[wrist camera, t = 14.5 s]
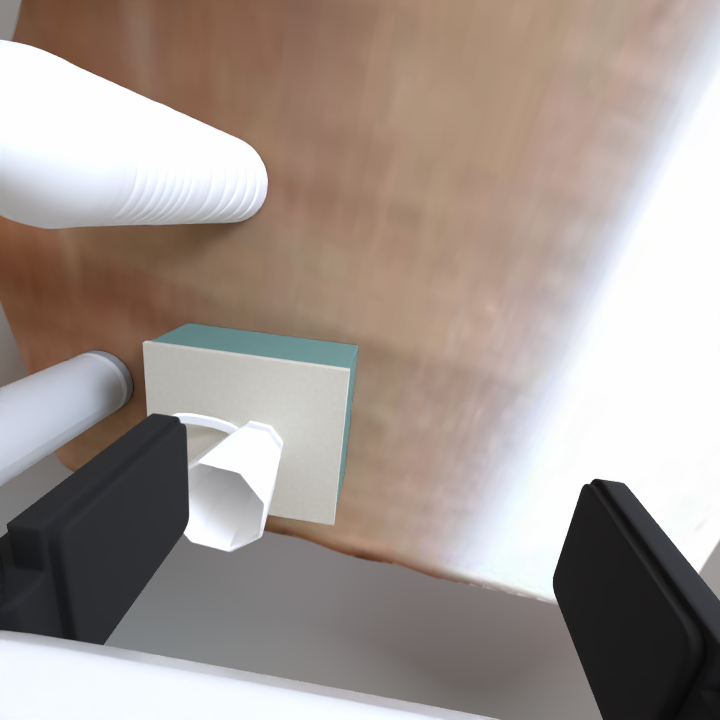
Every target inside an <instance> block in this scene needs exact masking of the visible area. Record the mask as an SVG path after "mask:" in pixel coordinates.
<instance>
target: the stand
mask: <svg viewBox="0 0 720 720" xmlns="http://www.w3.org/2000/svg"><path fill="white" fill-rule="evenodd" d="M357 354H358V346H357V345H350V344H343V343H335V342H328V341H320V340H313V339H305V338H298V337H290V336H283V335H275V334H267V333H260V332H252V331H245V330H237V329H230V328H222V327H215V326H207V325H200V324H192V323H187V324H185V325H183V326H181V327H179V328H177V329H175V330H173V331H171V332H168V333H166V334H164V335H162V336H160V337H158V338H156V339H154V340H152V341H145V342H143V358H144V373H145V389H146V404H147V417H148V416H149V415H151V414H153V413H157V414H164V415H170V416H171V415H174V414H176V413H192V414H197V415H203V416H208V417H213V418H217V419H220V420H223V421H226V422H229V423H231V424H233V425H235V426H236V427H238V428H239V427H240V426H242V425H244V424H245V423H247V422H249V421H254V422H258V423H262V424H266V425H270V426H271V427H272V428H273V429H274V431H275V432H276V433H277V435H278V436H279V437H280V439H281V440H282V441H283V445H282V451H281V456H280V460H279V464H278V470H277V476H276V481H275V487H274V491H273V495H272V499H271V502H270V506H269V510H268V514H267V515H272V516H278V517H284V518H290V519H296V520H302V521H309V522H315V523H321V524H327V525H334V521H335V512H336V508H337V504H338V500H339V496H340V492H341V488H342V484H343V480H344V474H345V465H346V456H347V446H348V437H349V428H350V419H351V409H352V400H353V391H354V382H355V373H356V363H357ZM183 424H185V425H186V428H187V454H188V463H189V462H190V461H192V460H193V459H194V458H195V457H197V456H198V455H199V454H201V453H202V452H203V451H204V450H206V449H207V448H208V447H210V446H211V445H213V444H215V443H216V442H218V441H220V440H222V439H223V438H225V437H227V436H229V434H228V433H226V432H224V431H221V430H218V429H215V428H212V427H206V426H201V425H195V424H188V423H183Z"/></svg>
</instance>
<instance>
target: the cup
mask: <svg viewBox="0 0 720 720" xmlns="http://www.w3.org/2000/svg"><path fill="white" fill-rule="evenodd" d="M171 416H177V417H178V418H179V419H180V421H181V423H188V424H195V425H201V426H206V427H212V428H215V429H218V430H221V431H224V432H226V433H228V434H229V436H227V437H225V438H223V439H222V440H220V441H218V442H216V443H215V444H213V445H211V446H210V447H208V448H207V449H206V450H204V451H203V452H202V453H201V454H199V455H198V456H197V457H195V458H194V459H193V460H192V461H190V462H189V463H188V486H189V521H188V525H187V527H186V529H185V531H184V533H183V534H184V535H185V536H186V537H187V538H188V539H189V541H190V542H191V543H195V544H199V545H203V546H207V547H211V548H215V549H218V550H222V551H226V552H232V551H234V550H236V549H238V548H240V547H242V546H244V545H247V544H248V543H251V542H253V541H255V540H256V539H259V538H261V537H262V534H263V530H264V526H265V522H266V518H267V514H268V510H269V506H270V502H271V499H272V495H273V491H274V487H275V481H276V476H277V470H278V464H279V460H280V456H281V451H282V445H283V441H282V440H281V439H280V437H279V436H278V435H277V433H276V432H275V431H274V429H273V428H272V427H271V426H270V425H266V424H262V423H258V422H254V421H249V422H247V423H245V424H244V425H242V426H240V427H239V428H238V427H236V426H235V425H233V424H231V423H229V422H226V421H223V420H220V419H217V418H213V417H208V416H203V415H197V414H192V413H176V414H174V415H171Z"/></svg>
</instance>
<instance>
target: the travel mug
mask: <svg viewBox="0 0 720 720" xmlns="http://www.w3.org/2000/svg"><path fill="white" fill-rule="evenodd" d="M132 391H133V382H132V377H131V375H130V373H129V371H128V369H127V368H126V366H125V365H124V364H123V363H122V362H121V361H120V360H119V359H118V358H117V357H115V356H113V355H111V354H109V353H107V352H104V351H98V350H96V351H88V352H85V353H83V354H80V355H78V356H76V357H73V358H71V359H68V360H66V361H64V362H61V363H59V364H56V365H54V366H52V367H49V368H47V369H44V370H42V371H40V372H37V373H35V374H32V375H30V376H28V377H25V378H23V379H21V380H18V381H16V382H13V383H11V384H8V385H6V386H4V387H1V388H0V487H1V486H2V485H4V484H5V483H7V482H8V481H10V480H11V479H13V478H14V477H16V476H17V475H19V474H20V473H22V472H23V471H25V470H27V469H28V468H29V467H31V466H32V465H34V464H36V463H37V462H39V461H40V460H42V459H43V458H45V457H46V456H48V455H49V454H51V453H52V452H54V451H55V450H57V449H58V448H60V447H61V446H63V445H65V444H66V443H68V442H69V441H71V440H72V439H74V438H75V437H77V436H78V435H80V434H81V433H83V432H84V431H86V430H87V429H89V428H90V427H92V426H93V425H95V424H96V423H98V422H99V421H101V420H103V419H104V418H106V417H107V416H109V415H110V414H112V413H113V412H114V411H116V410H118V409H119V408H121V407H122V406H124V405H125V404H126V403H127V402H128V401H129V399H130V398H131V395H132Z"/></svg>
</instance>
